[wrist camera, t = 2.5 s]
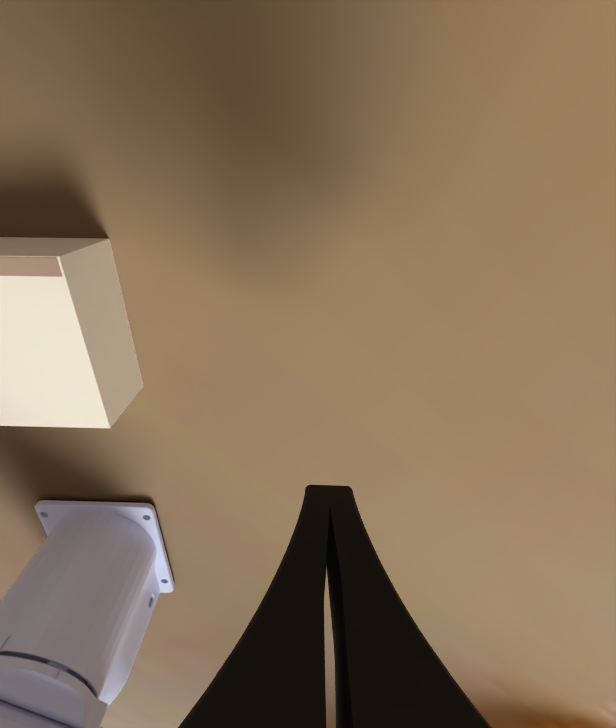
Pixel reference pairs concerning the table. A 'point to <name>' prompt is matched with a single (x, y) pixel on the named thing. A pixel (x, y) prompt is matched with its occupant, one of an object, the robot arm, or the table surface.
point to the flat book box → (63, 334)
